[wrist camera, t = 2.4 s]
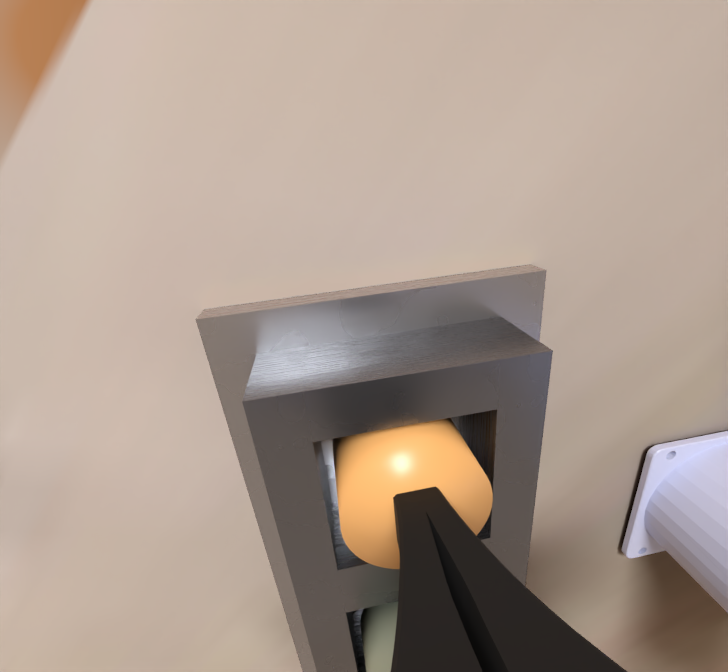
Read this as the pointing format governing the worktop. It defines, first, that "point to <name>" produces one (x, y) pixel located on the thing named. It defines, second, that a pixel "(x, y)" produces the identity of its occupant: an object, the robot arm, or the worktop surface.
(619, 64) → the worktop surface
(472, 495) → the orange button
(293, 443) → the button panel
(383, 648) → the sage button
